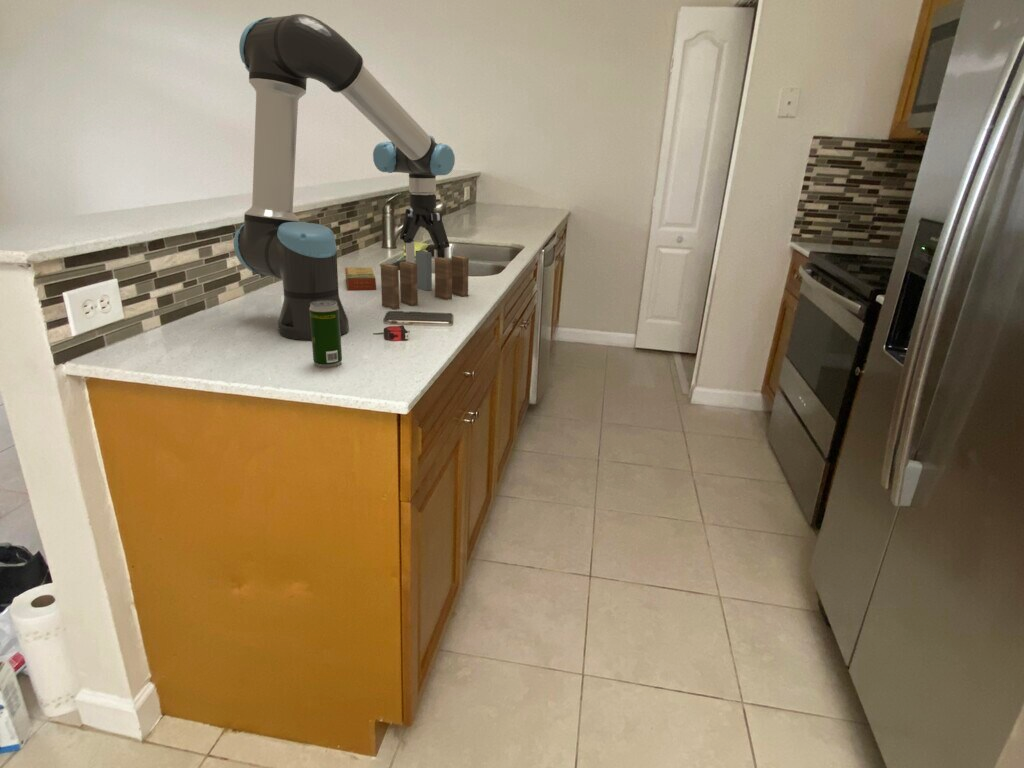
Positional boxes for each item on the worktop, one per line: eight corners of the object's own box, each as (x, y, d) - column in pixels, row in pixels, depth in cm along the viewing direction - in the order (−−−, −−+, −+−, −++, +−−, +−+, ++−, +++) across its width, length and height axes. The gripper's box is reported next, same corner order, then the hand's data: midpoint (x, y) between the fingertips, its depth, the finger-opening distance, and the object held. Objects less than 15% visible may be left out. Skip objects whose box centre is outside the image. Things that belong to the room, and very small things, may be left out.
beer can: (347, 364, 121) (344, 303, 117) (323, 370, 118) (318, 308, 113) (332, 357, 125) (328, 298, 120) (308, 363, 121) (303, 302, 117)
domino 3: (426, 290, 184) (426, 253, 180) (416, 287, 187) (415, 250, 183) (431, 289, 185) (431, 252, 182) (421, 286, 189) (420, 250, 185)
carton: (372, 280, 197) (372, 266, 195) (376, 291, 183) (376, 277, 181) (345, 280, 195) (344, 266, 193) (347, 291, 180) (346, 277, 179)
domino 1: (393, 309, 162) (391, 267, 158) (382, 305, 165) (380, 264, 162) (399, 308, 164) (398, 266, 160) (388, 304, 167) (387, 263, 163)
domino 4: (446, 299, 174) (446, 260, 170) (435, 296, 178) (434, 257, 174) (451, 298, 176) (451, 259, 172) (440, 295, 179) (440, 257, 175)
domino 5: (462, 296, 178) (463, 258, 174) (451, 293, 182) (451, 255, 178) (468, 296, 180) (468, 257, 176) (456, 292, 183) (456, 255, 179)
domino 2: (411, 306, 166) (410, 264, 162) (400, 302, 169) (399, 262, 166) (417, 305, 168) (417, 264, 164) (406, 301, 171) (405, 261, 167)
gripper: (461, 196, 171) (461, 273, 179) (407, 189, 187) (409, 260, 195) (440, 197, 166) (441, 276, 174) (386, 190, 182) (389, 263, 190)
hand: (424, 268), depth 184 cm, fingers open, 13 cm apart
